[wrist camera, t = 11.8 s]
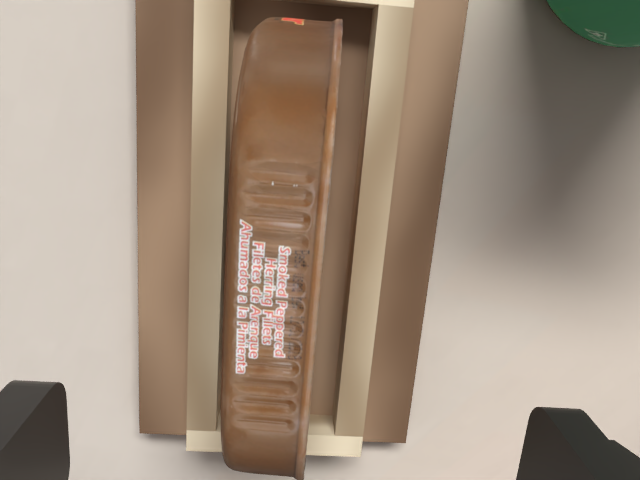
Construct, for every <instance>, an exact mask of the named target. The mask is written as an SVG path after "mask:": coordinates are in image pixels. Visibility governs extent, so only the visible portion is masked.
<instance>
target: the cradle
mask: <svg viewBox="0 0 640 480" xmlns="http://www.w3.org/2000/svg"><path fill="white" fill-rule="evenodd" d="M468 2H469V0H136V95H137V205H138V315H139V425H140V433H147V434H174V435H186V451H204V452H222V445H221V420H220V411H221V365H222V331H223V305H224V276H225V258H226V233H227V209H228V190H229V169H230V154H231V141H232V130H233V119H234V110H235V101H236V94H237V86H238V81H239V75H240V70H241V65H242V61H243V56H244V51H245V48H246V45H247V41H248V38H249V36H250V35H251V33H252V31H253V30H254V29H255V27H256V26H257V25H258V24H260V23H261V22H262V21H264V20H265V19H267V18H271V17H282V18H295V19H305V20H315V21H330V22H332V21H334V20H336V19H342V20H343V35H342V51H341V65H340V75H339V89H338V103H337V105H338V107H337V114H336V126H335V140H334V154H333V164H332V175H331V186H330V196H329V207H328V217H327V227H326V239H325V251H324V260H323V272H322V284H321V296H320V306H319V316H318V330H317V339H316V353H315V365H314V373H313V385H312V396H311V405H310V419H309V428H308V437H307V439H308V441H307V451H306V455H319V456H348V457H361V450H362V441H366V442H393V443H406V436H407V429H408V422H409V415H410V408H411V401H412V394H413V387H414V380H415V373H416V366H417V359H418V352H419V345H420V338H421V331H422V324H423V317H424V310H425V303H426V296H427V289H428V282H429V275H430V268H431V261H432V254H433V247H434V240H435V233H436V226H437V219H438V212H439V205H440V198H441V191H442V184H443V177H444V170H445V163H446V156H447V149H448V142H449V135H450V128H451V121H452V114H453V107H454V100H455V93H456V86H457V79H458V72H459V65H460V58H461V51H462V44H463V37H464V30H465V23H466V16H467V9H468Z"/></svg>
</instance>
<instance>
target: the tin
mask: <svg viewBox="0 0 640 480" xmlns="http://www.w3.org/2000/svg"><path fill="white" fill-rule="evenodd" d="M342 35H343V20H342V19H336V20H334V21H332V22H330V21H315V20H305V19H295V18H282V17H271V18H267V19H265V20H264V21H262V22H261V23H260V24H258V25H257V26H256V27H255V29H254V30H253V31H252V33H251V35H250V36H249V38H248V41H247V45H246V48H245V51H244V56H243V61H242V65H241V70H240V75H239V81H238V86H237V94H236V101H235V110H234V119H233V130H232V141H231V154H230V169H229V190H228V209H227V233H226V258H225V276H224V305H223V331H222V365H221V411H220V420H221V445H222V454H223V457H224V461H225V463H226V465H227V466H228V467H229V468H231V469H232V470H236V471H240V472H247V473H255V474H266V475H278V476H289V477H294V478H295V479H297V480H304V469H305V460H306V451H307V441H308V439H307V437H308V428H309V419H310V405H311V396H312V385H313V373H314V365H315V353H316V339H317V330H318V316H319V306H320V296H321V284H322V272H323V260H324V251H325V239H326V227H327V217H328V207H329V196H330V186H331V175H332V164H333V154H334V140H335V126H336V114H337V107H338V105H337V103H338V89H339V75H340V65H341V51H342Z"/></svg>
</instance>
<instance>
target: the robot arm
mask: <svg viewBox="0 0 640 480" xmlns="http://www.w3.org/2000/svg"><path fill="white" fill-rule="evenodd" d="M69 469H70V454H69V435H68V417H67V399H66V391H65V388H64V386H63V384H62V383H59V382H39V381H18V380H14V381H11V382H10V383H8V384H7V385H6V386H5V387H4V388H3V390H2V391H1V392H0V480H68V477H69ZM516 480H640V458H639V457H638V456H636V455H635V454H633V453H632V452H630V451H629V450H628V449H626V448H625V447H623V446H622V445H620V444H619V443H617V442H616V441H615V440H608V438H607V437H606V436H605V435H604V434H603V433H602V431H601V430H600V429H599V428H598V427H597V425H596V424H595V423H594V422H593V421H592V420H591V418H590V417H589V416H588V415H587V414H586V413H585V412H584V411H583V410H581V409H570V408H550V407H536V408H534V409H533V410H532V412H531V414H530V417H529V420H528V425H527V430H526V435H525V440H524V444H523V449H522V454H521V459H520V464H519V469H518V473H517V478H516Z"/></svg>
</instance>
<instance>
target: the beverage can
mask: <svg viewBox="0 0 640 480" xmlns="http://www.w3.org/2000/svg"><path fill="white" fill-rule="evenodd" d="M546 1H547V2H548V4H549V6H550V7H551V9H552V11H553V12H554V13H555V14H556V15H557V16H558V18H559V19H560V20H561V21H562V22H563V23H564V24H565V25H566V26H568V27H569V28H570V29H571V30H572V31H574V32H575V33H577V34H578V35H580V36H582V37H584V38H586V39H587V40H590V41H593V42H596V43H599V44H602V45H606V46H613V47H638V46H640V0H546Z"/></svg>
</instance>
